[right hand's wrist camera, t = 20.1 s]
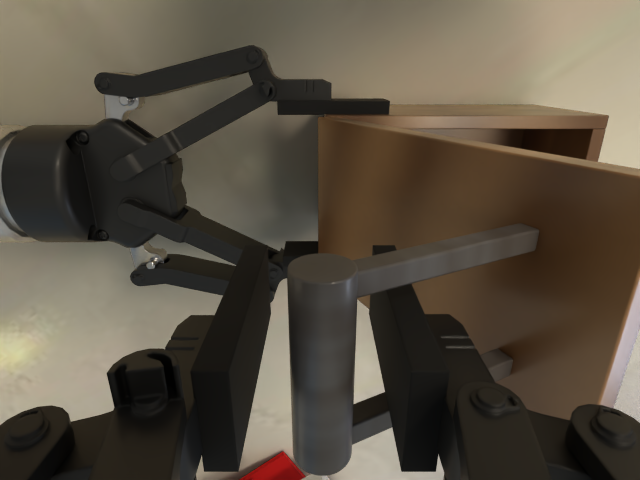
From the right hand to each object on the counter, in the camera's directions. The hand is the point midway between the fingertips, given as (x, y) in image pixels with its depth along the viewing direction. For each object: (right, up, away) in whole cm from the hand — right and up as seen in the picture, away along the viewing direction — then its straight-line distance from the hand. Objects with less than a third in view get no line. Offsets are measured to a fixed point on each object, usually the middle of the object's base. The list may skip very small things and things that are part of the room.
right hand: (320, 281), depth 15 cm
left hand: (+4, +5, +13) cm, 14 cm away
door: (+5, +1, +3) cm, 6 cm away
